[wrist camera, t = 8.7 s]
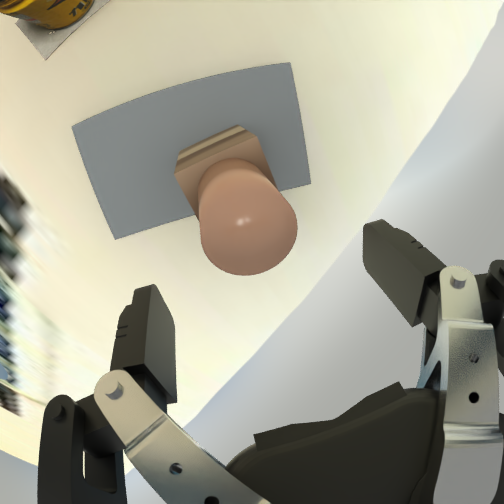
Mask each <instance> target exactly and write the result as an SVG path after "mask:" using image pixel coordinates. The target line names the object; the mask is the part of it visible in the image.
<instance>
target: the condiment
mask: <svg viewBox="0 0 504 504" xmlns="http://www.w3.org/2000/svg"><path fill="white" fill-rule="evenodd" d="M108 1H110V0H0V12H1V13H3V14H6V15H9V16H12V17H16V18H19V20H18V21H17V22H16V23H15V24H16V25H17V26H18V27H19V28H20V29H21V31H22V32H23V33H24V34H25V35H26V37H27V38H28V39H29V40H30V42H31V43H33V45H34V47H35V48H36V49H37V50H38V51H39V53H40V54H41V55H42V57H43V58H44V59H45V60H46V59H47V58H48V57H49V56H50V55H51V53H52V52H53V51H54V50H55V49H56V48H57V47H58V46H59V45H60V44H61V43H62V42H63V41H64V40H65V39H66V38H67V37H68V36H69V35H70V34H71V33H72V32H73V31H75V30H76V29H77V28H78V27H79V26H80V25H81V24H82V23H84V22H85V21H86V20H87V19H88V18H89V17H90V16H92V15H93V14H94V13H95V12H96V11H98V10H99V9H100V8H101V7H102V6H104V5H105V4H106V3H107V2H108ZM53 31H55V33H53ZM50 32H52V33H51V34H49V33H50Z"/></svg>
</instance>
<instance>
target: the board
mask: <svg viewBox="0 0 504 504" xmlns="http://www.w3.org/2000/svg"><path fill="white" fill-rule="evenodd" d="M237 124H238V125H239V126H241V127H243V128H244V129H246V130H247V131H249V132H251V133H252V134H254V135H256V136H257V138H258V140H259V143H260V145H261V148H262V150H263V153H264V155H265V158H266V160H267V163H268V165H269V168H270V170H271V173H272V175H273V178H274V181H275V183H276V186H277V188H278V191H279V192H280V191H283V190H288V189H292V188H296V187H300V186H304V185H308V184H311V180H310V173H309V166H308V159H307V152H306V145H305V139H304V133H303V127H302V121H301V115H300V109H299V104H298V98H297V93H296V88H295V83H294V78H293V73H292V68H291V63H290V62H289V63H281V64H273V65H266V66H260V67H254V68H248V69H243V70H237V71H232V72H228V73H223V74H218V75H214V76H210V77H206V78H202V79H198V80H194V81H190V82H187V83H183V84H180V85H176V86H173V87H170V88H166V89H163V90H160V91H157V92H154V93H151V94H148V95H145V96H142V97H140V98H137V99H134V100H132V101H129V102H126V103H124V104H121V105H119V106H116V107H114V108H111V109H109V110H107V111H104V112H102V113H100V114H97V115H95V116H93V117H91V118H88V119H86V120H84V121H82V122H80V123H78V124H76V125H74V126H72V130H73V133H74V136H75V139H76V142H77V145H78V148H79V151H80V154H81V157H82V160H83V163H84V165H85V168H86V171H87V174H88V176H89V179H90V182H91V184H92V187H93V189H94V192H95V194H96V197H97V199H98V202H99V204H100V207H101V209H102V211H103V214H104V216H105V218H106V221H107V223H108V225H109V227H110V230H111V232H112V234H113V236H114V238H115V240H116V239H119V238H122V237H125V236H128V235H131V234H134V233H137V232H141V231H144V230H147V229H150V228H153V227H156V226H159V225H163V224H166V223H169V222H172V221H175V220H179V219H182V218H185V217H189V216H192V215H195V213H194V211H193V209H192V207H191V206H190V204H189V202H188V200H187V198H186V196H185V195H184V193H183V191H182V189H181V187H180V185H179V183H178V181H177V180H176V178H175V176H174V171H175V167H176V163H177V159H178V155H179V151H181V150H183V149H185V148H187V147H189V146H191V145H193V144H195V143H197V142H199V141H201V140H204V139H206V138H208V137H210V136H212V135H214V134H217V133H219V132H221V131H223V130H226V129H228V128H230V127H233V126H235V125H237Z"/></svg>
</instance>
